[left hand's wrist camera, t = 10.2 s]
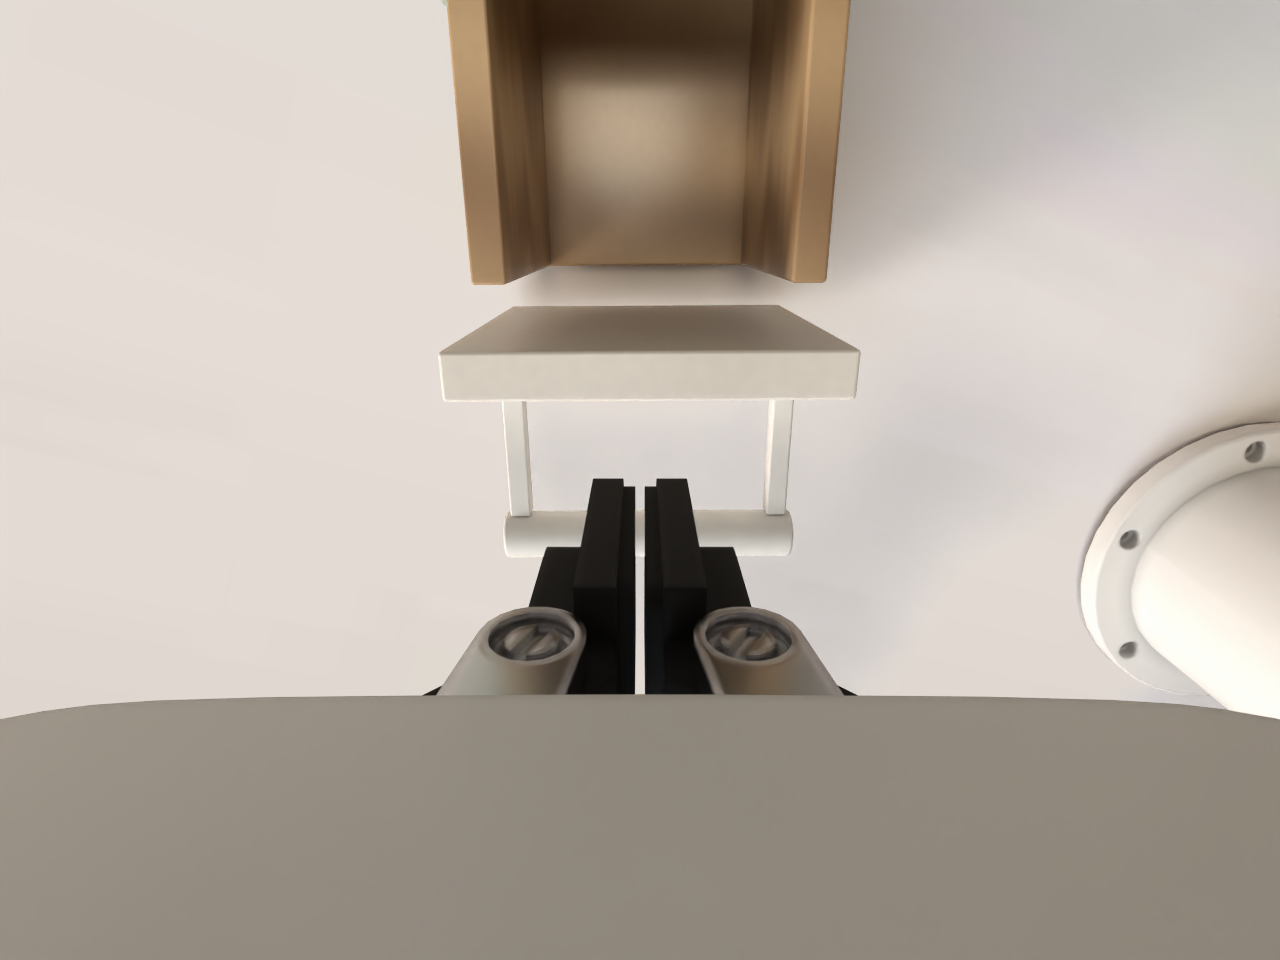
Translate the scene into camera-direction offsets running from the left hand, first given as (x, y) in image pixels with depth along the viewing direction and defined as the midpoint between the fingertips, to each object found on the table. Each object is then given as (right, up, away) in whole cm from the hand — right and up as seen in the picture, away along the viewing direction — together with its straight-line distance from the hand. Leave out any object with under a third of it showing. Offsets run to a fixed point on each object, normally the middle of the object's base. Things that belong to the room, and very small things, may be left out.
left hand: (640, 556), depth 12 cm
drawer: (0, +11, +11) cm, 16 cm away
